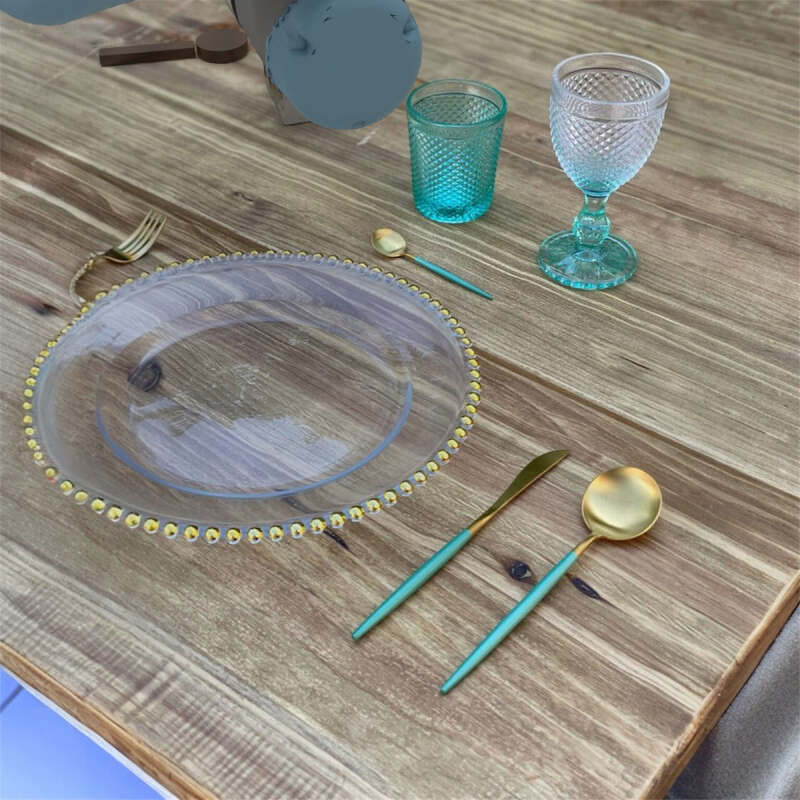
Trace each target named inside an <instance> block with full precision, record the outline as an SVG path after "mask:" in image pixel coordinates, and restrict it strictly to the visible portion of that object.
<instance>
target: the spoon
mask: <svg viewBox="0 0 800 800" xmlns="http://www.w3.org/2000/svg"><path fill="white" fill-rule="evenodd" d="M249 52H250V48H249V38H248V37H247V36H246V33H245V32H244V31H241V30H238V29H235V28H215V29H210V30H207V31H204V32H202V33H200V34H199V35H198V36H197V37H196V38H195V41H194V40H183V41H172V42H161V43H149V44H138V45H127V46H116V47H115V46H114V47H103V48H99V49H98V59H99V63H100V66H101V67H110V66H120V65H131V64H142V63H143V64H144V63H153V62H165V61H166V62H167V61H176V60H185V59H186V60H187V59H195V58H196V57H198V58H199V59H200V60H202V61H204V62H206V63H210V64H211V63H212V64H229V63H234V62H238V61H240V60H242V59H244V58H245V57H246V56H248V54H249ZM196 54H197V55H196Z"/></svg>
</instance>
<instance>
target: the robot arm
mask: <svg viewBox="0 0 800 800" xmlns="http://www.w3.org/2000/svg"><path fill="white" fill-rule="evenodd" d="M134 1H136V0H0V11H1V12H3V13H4V14H6V15H8V16H9V17H11V18H13V19H16V20H18V21H21V22H24V23H27V24H31V25H36V26H45V27H50V26H52V27H53V26H60V25H66V24H68V23H71V22H74V21H77V20H80V19H83V18H86V17H89V16H92V15H95V14H97V13H100V12H103V11H105V10H108V9H111V8H115V7H118V6H120V5H125V4H128V3H131V2H134ZM223 1H224V3H225V5H226V6H227V8H228V9H229V11H230V12H231V14H232V16H233V18H235V21H237V24H238V25H239V27H240V28H241V30H242V32H243V33H245V34H246V36H247V38H248V41H249V42H250V44H251V45H252V47H253V49H254V51H255V52H256V54H257V55H258V57H259V59H260V61H261V62H262V65H263V64H264V65H265V67H266V72H267V75H268V76H269V77H270V78H271V82H272V83H273V85H275V86H276V88H277V89H278V91H279V92H280V93H281V94H282V95H284V96H285V97H286V98H287V99H288V100H289V101H290V103H291V104H292V105H293V106H294V107H295V108H296V110H297V111H298V112H299V113H300V114H302V115H303V116H304V117H306V118H307V119H308V120H310V121H309V122H311V123H314V124H316V125H317V126H320V127H322V128H325V129H326V128H327V129H331V130H335V131H336V130H337V131H347V130H359V129H361V128H365V127H368V126H371V125H374V124H376V123H379V121H381V120H383V119H385V118H386V117H388V116H389V115H390V114H391V113H393V112H394V111H395V110H396V109H397V108H398V107H399V106H400V105H401V104H402V103H403V102H404V101H405V100H406V98H407V97H408V96H409V94H410V93H411V91H412V89H413V87H414V86H415V83H416V81H417V79H418V76H419V72H420V70H421V69H420V68H421V66H422V60H423V43H422V35H421V31H420V27H419V25H418V23H417V20H416V19H415V17H414V15H413V14H412V12H411V10H410V9H409V8H410V6H409V4H408V3H407V1H406V0H223ZM264 65H263V66H264Z"/></svg>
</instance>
